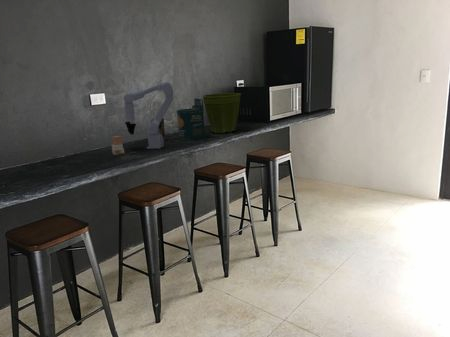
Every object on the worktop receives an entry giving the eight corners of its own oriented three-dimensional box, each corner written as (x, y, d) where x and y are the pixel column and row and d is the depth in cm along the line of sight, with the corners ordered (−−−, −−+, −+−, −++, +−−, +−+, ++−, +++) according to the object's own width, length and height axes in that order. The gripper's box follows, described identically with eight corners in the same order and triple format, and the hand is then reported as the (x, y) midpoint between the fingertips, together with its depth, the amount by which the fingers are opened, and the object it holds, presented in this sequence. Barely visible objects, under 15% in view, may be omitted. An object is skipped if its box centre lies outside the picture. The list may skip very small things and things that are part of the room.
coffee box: (161, 142, 268) (159, 119, 264) (152, 142, 269) (150, 119, 265) (165, 139, 276) (163, 117, 272) (157, 139, 278) (155, 117, 274)
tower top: (120, 148, 241) (120, 143, 240) (123, 149, 236) (122, 144, 236) (112, 149, 238) (111, 144, 238) (114, 150, 234) (113, 146, 233)
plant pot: (219, 127, 318) (217, 93, 311) (249, 129, 301) (248, 93, 293) (197, 133, 295) (194, 96, 288) (228, 136, 278) (226, 96, 270)
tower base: (122, 152, 243) (122, 147, 242) (124, 154, 237) (124, 149, 236) (112, 153, 241) (111, 148, 240) (113, 155, 235) (113, 150, 234)
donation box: (205, 138, 272) (203, 99, 265) (184, 141, 266) (181, 101, 258) (197, 135, 286) (194, 98, 279) (177, 138, 280) (173, 100, 272)
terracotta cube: (118, 143, 241) (117, 135, 239) (122, 144, 238) (121, 136, 236) (112, 144, 237) (111, 136, 236) (116, 145, 234) (115, 137, 233)
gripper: (121, 111, 248) (123, 132, 251) (124, 114, 235) (126, 135, 238) (132, 111, 250) (134, 131, 254) (136, 113, 237) (137, 134, 241)
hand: (131, 133), depth 246 cm, fingers open, 7 cm apart
